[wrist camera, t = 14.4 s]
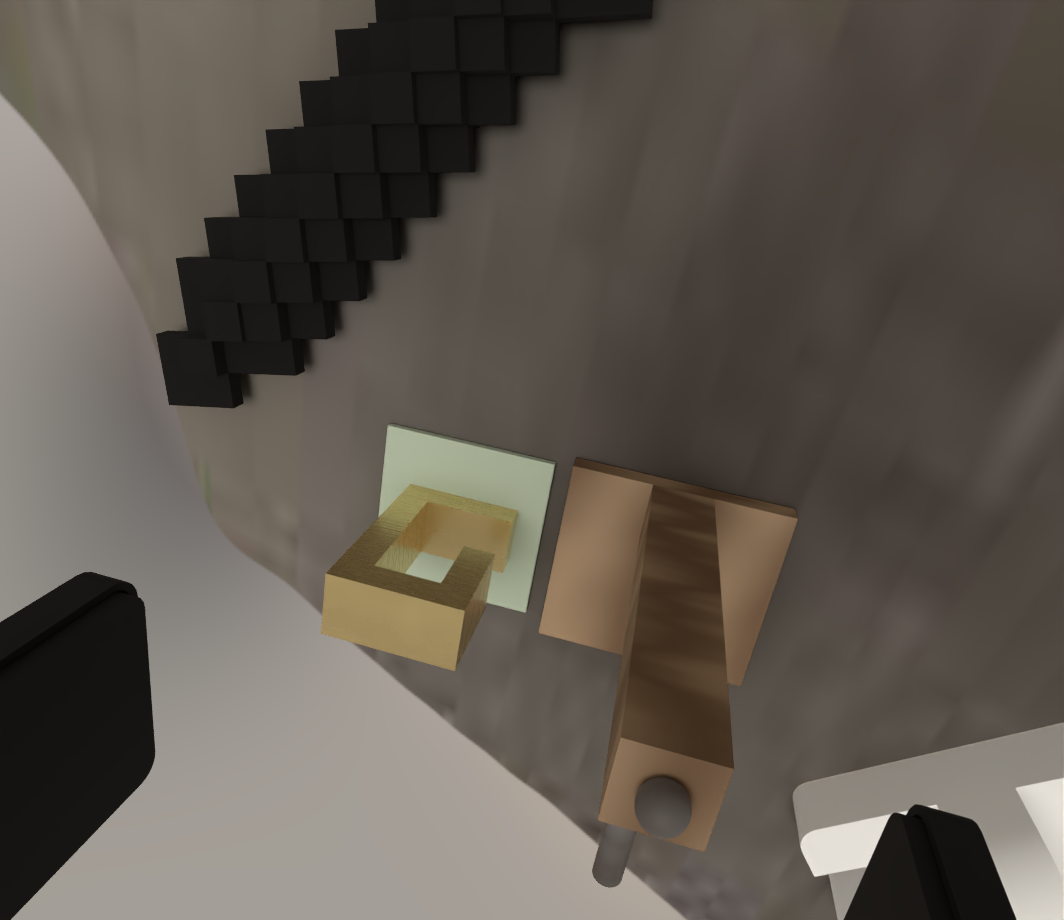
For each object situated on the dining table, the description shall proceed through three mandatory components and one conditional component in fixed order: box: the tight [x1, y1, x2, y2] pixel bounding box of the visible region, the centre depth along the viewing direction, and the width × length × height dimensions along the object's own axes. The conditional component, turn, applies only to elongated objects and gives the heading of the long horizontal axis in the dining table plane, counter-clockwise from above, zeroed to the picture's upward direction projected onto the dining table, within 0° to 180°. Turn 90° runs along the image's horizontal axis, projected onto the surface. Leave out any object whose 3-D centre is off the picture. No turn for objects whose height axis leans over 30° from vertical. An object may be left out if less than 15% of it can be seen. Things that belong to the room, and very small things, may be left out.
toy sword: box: [156, 0, 653, 408], centre depth 31 cm, size 11×40×4 cm, turn 135°
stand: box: [539, 458, 798, 887], centre depth 30 cm, size 11×12×20 cm
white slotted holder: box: [793, 722, 1064, 920], centre depth 35 cm, size 10×18×11 cm, turn 117°
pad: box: [379, 423, 556, 613], centre depth 40 cm, size 9×9×1 cm
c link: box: [321, 484, 518, 671], centre depth 35 cm, size 6×3×10 cm, turn 80°
